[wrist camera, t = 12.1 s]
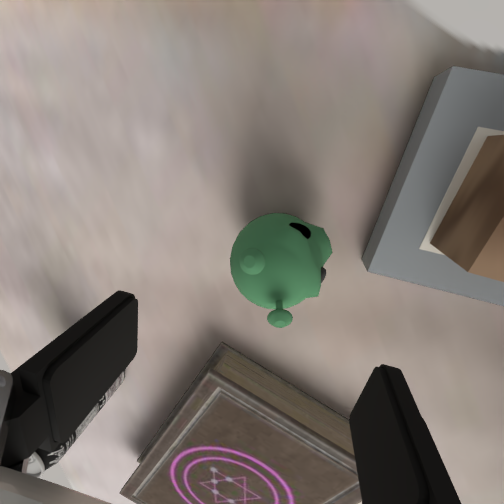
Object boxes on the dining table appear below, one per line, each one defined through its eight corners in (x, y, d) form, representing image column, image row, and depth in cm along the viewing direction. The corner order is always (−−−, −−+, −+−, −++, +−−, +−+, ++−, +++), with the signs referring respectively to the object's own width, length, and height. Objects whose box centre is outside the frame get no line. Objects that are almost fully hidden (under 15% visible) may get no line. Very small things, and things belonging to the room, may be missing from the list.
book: (223, 338, 30) (208, 372, 26) (383, 437, 31) (396, 486, 26) (139, 456, 43) (118, 493, 38) (254, 525, 43) (248, 570, 39)
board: (531, 302, 22) (558, 320, 19) (361, 259, 23) (367, 271, 21) (667, 116, 16) (728, 110, 14) (434, 76, 18) (453, 65, 15)
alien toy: (339, 260, 24) (358, 329, 15) (262, 284, 26) (237, 356, 17) (312, 187, 22) (315, 214, 13) (232, 221, 24) (187, 263, 15)
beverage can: (76, 344, 35) (-29, 433, 24) (116, 340, 33) (21, 434, 22) (98, 382, 37) (9, 480, 26) (136, 380, 35) (58, 484, 24)
